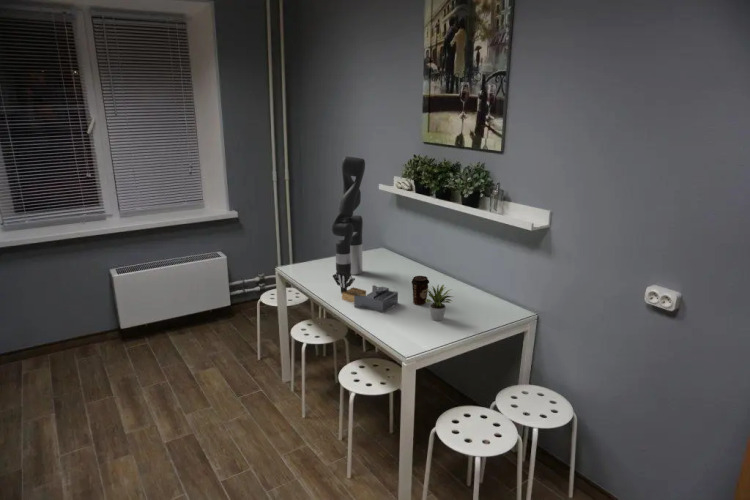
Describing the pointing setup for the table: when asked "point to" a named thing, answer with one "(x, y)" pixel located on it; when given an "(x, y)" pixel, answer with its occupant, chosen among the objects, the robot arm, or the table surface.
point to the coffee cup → (420, 289)
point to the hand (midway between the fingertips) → (344, 293)
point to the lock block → (352, 294)
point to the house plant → (438, 303)
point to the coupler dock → (377, 299)
